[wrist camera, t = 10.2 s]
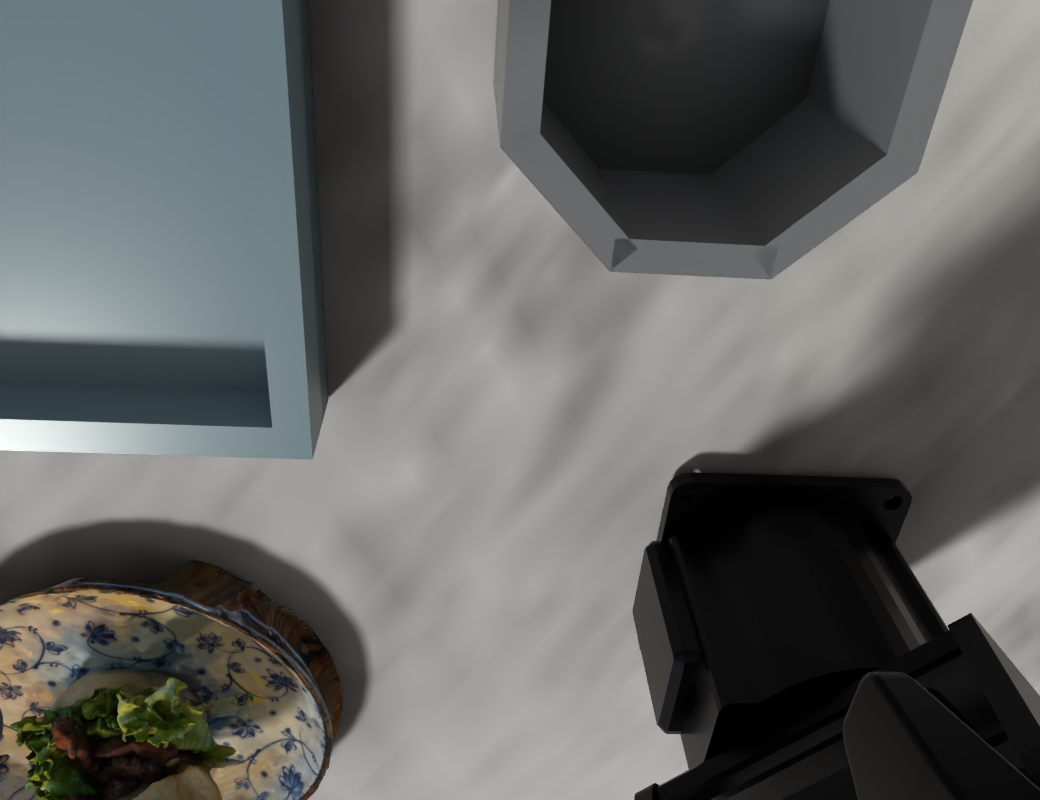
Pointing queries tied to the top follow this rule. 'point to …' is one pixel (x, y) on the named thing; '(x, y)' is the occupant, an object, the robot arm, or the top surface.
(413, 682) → the top surface
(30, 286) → the tray
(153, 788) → the burger
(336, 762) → the top surface
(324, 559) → the top surface
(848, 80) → the cup
